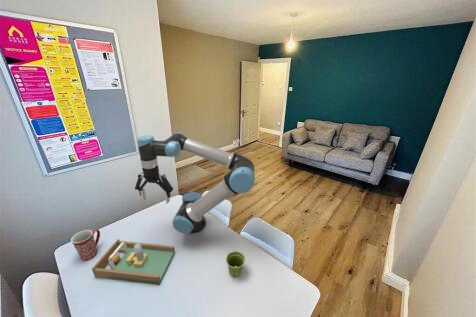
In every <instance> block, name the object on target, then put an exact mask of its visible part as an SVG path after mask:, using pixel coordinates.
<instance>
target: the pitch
mask: <svg viewBox="0 0 476 317" xmlns="http://www.w3.org/2000/svg"><path fill="white" fill-rule="evenodd" d="M137 243H138V242H133V241H126V240H120V239H116V240H115V242H114V243H112V245H111V246H110V247H109V248H108V249H107V251H106V252H105V253H104V254H103V255H102V256H101V257H100V258H99V260H98V261H97V262H96V263H95V264H94V265H93V266H92V267H91V271H92V273H93V275H94V278H98V279H106V280H107V279H108V280H116V281H121V282H122V281H123V282H124V281H125V282H131V283H132V282H133V283H140V284H147V285H149V284H150V285H158V286H159V285H161V284H162V281H163V279H164V277H165V274H166V273H167V271H168V269H169V266H170V265H171V263H172V260H173V258H174V256H175V255H176V249H175V245H165V244H153V243H146V242H145V243H144V242H139V243H140V244H141V248H142V252H143V254H148V258H147V260H146V261H145V263H144V264H143V266H142V267H135V266H134V264H133V263H134V262H133V263H132V264H131V265H127V262H126V260H127V258H128V257H129V256H130V254H131V253H132V252H135V249H134V245H135V244H137ZM117 253H118V254H119V253H122V254H124V255H123V257H122V258H121V259H120V260H119V261H118V262H117V265H115V264H114V263H113V257H114V256H115V255H116V254H117ZM111 254H112V255H111ZM110 255H111V256H110ZM109 256H110V257H109ZM108 265H109V268H106V267H107V266H108Z"/></svg>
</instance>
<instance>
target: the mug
mask: <svg viewBox="0 0 476 317" xmlns="http://www.w3.org/2000/svg"><path fill="white" fill-rule="evenodd" d="M95 233H96V238H95V237H94V235H95ZM100 238H101V232H100V229H97V228H95V229H93V230H91V229H84V230H81V231H79V232H76V233H75V234H74V235H73V236H72V237H71V239H70V241H71V243H72V245H73V246H74V248H75V250H76V252H77V254H78V256H79V257H80V259H81V261H90V260H92V259H93V258H95V257H96V256H97V254H98V249H97V248H98V244H99V241H100Z"/></svg>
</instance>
